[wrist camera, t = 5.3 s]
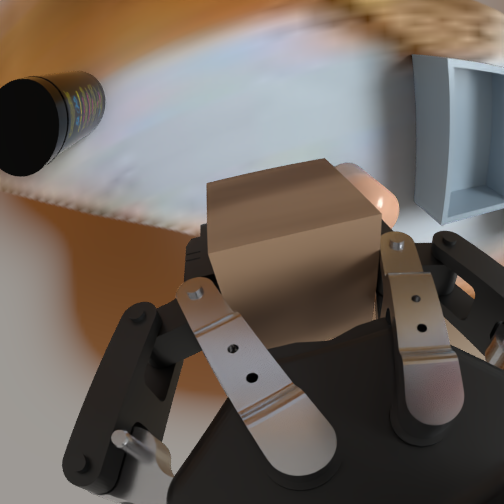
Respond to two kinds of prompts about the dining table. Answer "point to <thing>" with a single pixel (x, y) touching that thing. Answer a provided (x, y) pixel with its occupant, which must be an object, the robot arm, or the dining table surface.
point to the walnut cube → (294, 251)
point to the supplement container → (46, 118)
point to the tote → (458, 137)
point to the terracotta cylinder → (372, 191)
